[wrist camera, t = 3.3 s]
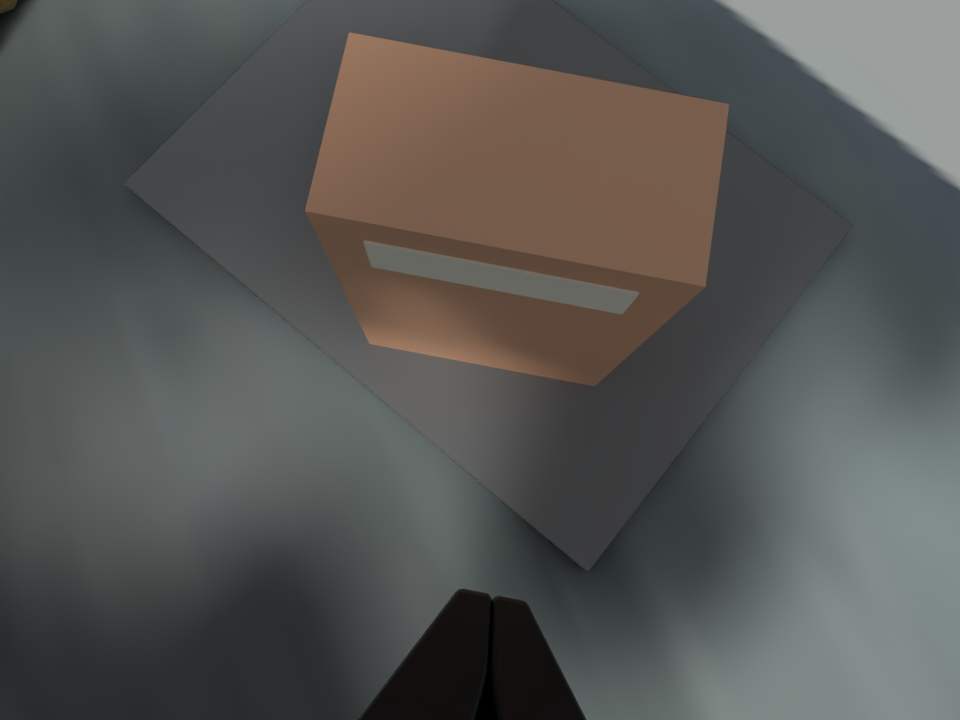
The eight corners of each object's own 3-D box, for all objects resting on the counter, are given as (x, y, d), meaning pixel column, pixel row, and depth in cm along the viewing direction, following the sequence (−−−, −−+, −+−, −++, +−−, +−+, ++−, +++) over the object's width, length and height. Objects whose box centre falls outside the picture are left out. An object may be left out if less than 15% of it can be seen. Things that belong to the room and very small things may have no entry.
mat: (844, 231, 22) (853, 225, 21) (585, 570, 20) (588, 571, 19) (413, -92, 23) (412, -105, 23) (131, 191, 21) (123, 183, 21)
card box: (594, 388, 20) (705, 289, 11) (368, 345, 20) (303, 214, 11) (611, 276, 21) (729, 101, 12) (393, 235, 21) (349, 29, 12)
